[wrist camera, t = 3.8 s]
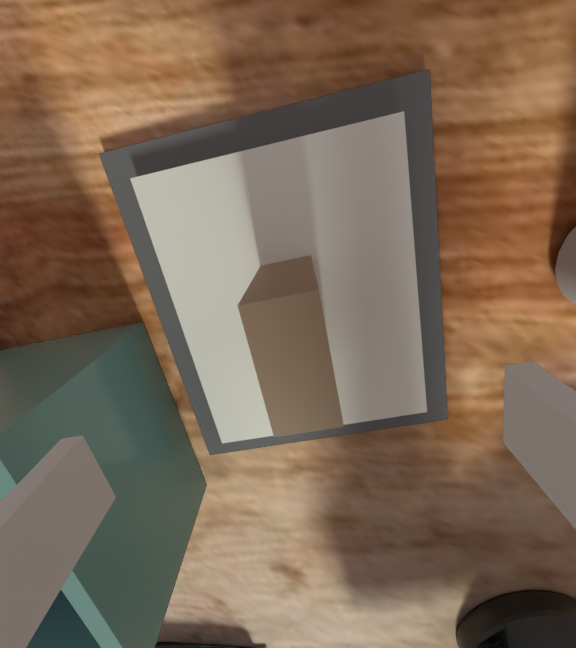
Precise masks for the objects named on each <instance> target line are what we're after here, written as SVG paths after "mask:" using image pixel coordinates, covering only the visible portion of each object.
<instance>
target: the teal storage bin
mask: <svg viewBox="0 0 576 648" xmlns="http://www.w3.org/2000/svg"><path fill="white" fill-rule="evenodd" d="M81 435H83V437H84V438H85V440H86V442H87V444H88V446H89V448H90V450H91V451H92V453H93V455H94V457H95V459H96V461H97V463H98V464H99V466H100V468H101V470H102V472H103V474H104V476H105V477H106V479H107V481H108V483H109V485H110V487H111V489H112V490H113V492H114V494H115V496H116V498H115V500H114V501H113V503H112V505H111V506H110V508H109V510H108V511H107V513H106V515H105V516H104V518H103V520H102V521H101V523H100V525H99V526H98V528H97V530H96V531H95V533H94V535H93V537H92V538H91V540H90V542H89V543H88V545H87V547H86V548H85V550H84V552H83V553H82V555H81V557H80V558H79V560H78V562H77V563H76V565H75V567H74V568H73V570H72V572H71V573H70V575H69V577H68V578H67V580H66V582H65V583H64V585H63V587H62V588H61V590H60V592H59V593H58V595H57V597H56V598H55V600H54V602H53V603H52V605H51V607H50V608H49V610H48V612H47V613H46V615H45V617H44V618H43V620H42V622H41V623H40V625H39V627H38V628H37V630H36V632H35V633H34V635H33V637H32V639H31V640H30V642H29V644H28V645H27V647H26V648H155V645H156V642H157V639H158V636H159V633H160V630H161V626H162V623H163V620H164V617H165V614H166V611H167V608H168V605H169V602H170V598H171V595H172V592H173V589H174V586H175V583H176V580H177V577H178V573H179V570H180V567H181V564H182V561H183V558H184V555H185V552H186V549H187V545H188V542H189V539H190V536H191V533H192V530H193V527H194V524H195V520H196V517H197V514H198V511H199V508H200V505H201V502H202V499H203V495H204V492H205V489H206V486H207V485H206V482H205V480H204V477H203V474H202V472H201V469H200V467H199V464H198V462H197V459H196V456H195V454H194V451H193V449H192V446H191V443H190V441H189V438H188V436H187V433H186V431H185V428H184V425H183V423H182V420H181V418H180V415H179V413H178V410H177V407H176V405H175V402H174V400H173V397H172V395H171V392H170V389H169V387H168V384H167V382H166V379H165V377H164V374H163V371H162V369H161V366H160V364H159V361H158V358H157V356H156V353H155V351H154V348H153V346H152V343H151V340H150V338H149V335H148V333H147V330H146V328H145V325H144V322H140V323H135V324H130V325H125V326H120V327H115V328H110V329H104V330H99V331H94V332H89V333H84V334H79V335H74V336H69V337H64V338H59V339H54V340H49V341H44V342H39V343H33V344H28V345H23V346H18V347H13V348H8V349H3V350H0V502H1V501H2V500H3V499H4V498H5V497H6V496H7V495H8V494H9V493H10V491H11V490H12V489H13V488H14V487H15V486H16V485H17V484H18V483H19V482H20V481H21V480H22V479H23V478H24V477H25V476H26V475H27V474H28V473H29V472H30V471H31V470H32V469H33V468H34V467H35V466H36V465H37V463H38V462H39V461H40V460H41V459H42V458H43V457H44V456H45V455H46V454H47V453H48V452H49V451H50V450H51V449H52V448H53V447H54V446H55V445H56V444H57V443H58V442H59V441H60V440H61V439H63V438H69V437H75V436H81Z"/></svg>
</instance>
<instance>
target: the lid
mask: <svg viewBox="0 0 576 648" xmlns="http://www.w3.org/2000/svg"><path fill="white" fill-rule="evenodd" d="M130 180H131V183H132V185H133V188H134V191H135V194H136V197H137V200H138V203H139V206H140V209H141V211H142V214H143V217H144V220H145V223H146V226H147V229H148V232H149V234H150V237H151V240H152V243H153V246H154V249H155V252H156V255H157V258H158V260H159V263H160V266H161V269H162V272H163V275H164V278H165V281H166V283H167V286H168V289H169V292H170V295H171V298H172V301H173V304H174V306H175V309H176V312H177V315H178V318H179V321H180V324H181V327H182V330H183V332H184V335H185V338H186V341H187V344H188V347H189V350H190V353H191V355H192V358H193V361H194V364H195V367H196V370H197V373H198V376H199V379H200V381H201V384H202V387H203V390H204V393H205V396H206V399H207V402H208V404H209V407H210V410H211V413H212V416H213V419H214V422H215V425H216V427H217V430H218V433H219V436H220V439H221V442H222V443H229V442H235V441H242V440H248V439H255V438H261V437H268V436H274V437H280V436H286V435H293V434H299V433H306V432H312V431H319V430H325V429H332V428H339V427H344V425H346V424H353V423H359V422H366V421H372V420H379V419H385V418H392V417H398V416H405V415H411V414H418V413H424V412H427V403H426V390H425V377H424V364H423V351H422V338H421V325H420V312H419V299H418V286H417V273H416V260H415V247H414V234H413V221H412V208H411V195H410V181H409V168H408V155H407V142H406V129H405V116H404V111H403V112H399V113H395V114H391V115H387V116H383V117H379V118H375V119H371V120H366V121H362V122H358V123H354V124H350V125H346V126H342V127H338V128H334V129H330V130H326V131H322V132H318V133H313V134H309V135H305V136H301V137H297V138H293V139H289V140H285V141H281V142H277V143H273V144H269V145H265V146H260V147H256V148H252V149H248V150H244V151H240V152H236V153H232V154H228V155H224V156H220V157H216V158H212V159H207V160H203V161H199V162H195V163H191V164H187V165H183V166H179V167H175V168H171V169H167V170H163V171H159V172H154V173H150V174H146V175H142V176H138V177H134V178H130Z"/></svg>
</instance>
